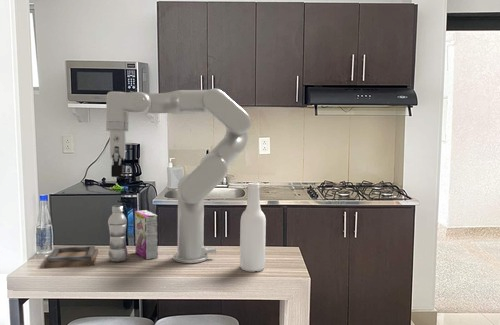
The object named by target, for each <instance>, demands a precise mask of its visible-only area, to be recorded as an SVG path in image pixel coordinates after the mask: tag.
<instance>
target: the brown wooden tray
mask: <svg viewBox="0 0 500 325" xmlns="http://www.w3.org/2000/svg"><path fill="white" fill-rule="evenodd" d="M98 254H99V249H98V248H96V245H84V246H83V245H81V246H79V245H77V246H61V247H60V246H59V247H58V246H57V247H55V248H54V249H53V250H52V252H51V253H50V254H49V256H48V258H47V259H46V261H45V262H44V268H45V269H50V268H66V267H67V268H69V267H85V266H86V267H90V266H95V263H96V260H97V256H98Z"/></svg>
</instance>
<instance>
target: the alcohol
mask: <svg viewBox="0 0 500 325" xmlns="http://www.w3.org/2000/svg"><path fill="white" fill-rule="evenodd" d="M247 184H248V186H247V188H248V190H247V200H246V208H245V210H244V211H243V212H242V214H241V217H240V229H239V230H240V232H239V234H240V236H239V237H240V238H239V267H240V269H241V270H242V271H244V270H245V272H249V273H251V272H253V273H255V271H257V272H261V271H263V270H264V269H265V266H266V235H267V234H266V231H267V230H266V226H267V223H266V222H267V219H266V215H265V214H264V212H263V211H262V208H261V201H260V200H261V199H260V196H261V195H260V183H258V182H248V183H247ZM263 268H264V269H263Z"/></svg>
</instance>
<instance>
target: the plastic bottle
mask: <svg viewBox="0 0 500 325" xmlns="http://www.w3.org/2000/svg"><path fill="white" fill-rule="evenodd" d="M111 212H112V213H111V214H110V216H109V217H108V220H107V224H108V230H109V249H108V257H109V260H110V261H112V262H123V261H125V260H127V258H128V248H127V242H126V238H127V236H126V235H127V233H126V231H127V223H128V220H127V217H126V215H125V214H124V213H123V212H124V206H123V205H112V206H111Z"/></svg>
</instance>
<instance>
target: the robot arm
mask: <svg viewBox="0 0 500 325" xmlns="http://www.w3.org/2000/svg"><path fill="white" fill-rule="evenodd" d="M105 104H106V107H105V108H106V111H105V112H106V114H105V116H106V117H105V118H106V121H105V128H106V132H109V156H110V159H111V169H110V170H111V173H110V174H111V177H112V178H121V177H122V174H123V162H122V160H125V159H126V132H129V114H130V113H135V114H139V115H144V114H150V115H151V114H173V115H179V114H180V115H191V114H192V115H194V114H212V115H213V116H214V117H215V118H216V119H217V120H218V121H219V122H220V123H222V124H223V125H224V126H225V129H226V131H225V134H224V137H223V138H222V139H221V140H220V141H219V143H217V144H216V146H214V148H213V149H211V151H209V152H208V153H207V154H206V155H204V156H203V157H202V158H201V160H200V162H199V165H198V166H196V168H195V169H194V170H193V171H192V172H190V173H186V174H184V175H183V176H181V178H180V179H179V181H178V183H177V252H176V253H175V254H174V255H173V258H172V259H173V261H175V262H177V263H182V264H195V263H196V264H197V263H198V264H199V263H202V262H205V261H206V260H207V259H208V257H209V256H208V254H216V253H217V248H215V247H212V246H211V247H205V245H204V233H205V232H204V229H205V228H204V227H205V226H204V224H205V223H204V222H205V221H204V217H205V202H204V200H205V198H206V197H207V196H208V195H209V194H210V193H211V192H212V191H213V190H214V189H215V188H216V187H218V185H219V184H220V183H221V182H222V181H223V180H224V179H225V177H226V176H227V174H228V168H229V166H230V165H232V163H234V161H235V160H236V159H237V158H238V157H239V156H240V155H241V153H242V152H243V151H244V150H245V147H246V145H247V142H248V137H249V130H250V128H251V126H252V125H251V124H252V121H251V120H252V119H251V116H250V115H249V113H248V112H247V111H246V110H244V109H243V108H242V107H241V106H240V105H239V104H238V103H236V102H235V101H234V100H233V99H232V98H231V97H230V96H229V95H227V94H226V92H224V91H222V90H221V89H220V88H211V89H178V90H174V91H173V90H172V91H169V92H160V93H155V92H154V93H152V92H151V93H145V92H142V91H132V92H125V91H108V92H107V94H106V103H105Z"/></svg>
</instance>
